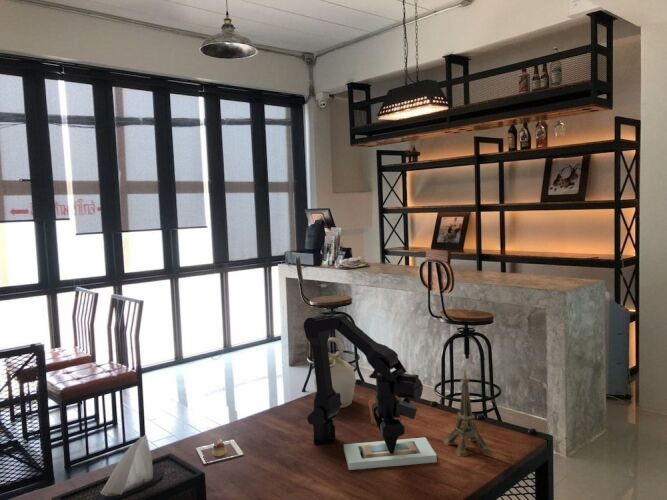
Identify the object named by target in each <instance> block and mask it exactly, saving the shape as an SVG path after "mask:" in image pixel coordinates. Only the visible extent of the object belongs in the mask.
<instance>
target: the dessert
mask: <svg viewBox="0 0 667 500" xmlns="http://www.w3.org/2000/svg"><path fill="white" fill-rule="evenodd" d="M229 444H231V446H232V447H233V449H234V450H235V453H237V454H235V455H232V456H228V457H224V458H220V459H216V460H211V461H207V463H208V464H211V463H215V462H221V461H224V460H228V459H232V458H237V457H240V456H243V455H244V452H243V451H242V449H241V448H240V447H239V445H238V444H237V442H236V441H235V439H230V440H225V441H223V440H222V439H221V438H219V439H218V441H217V442H215V443H213V444H208V445H207V444H206V445H204V446H199V447H196V448H195V450H196V452H197V453H198V456H199V457H200V459H201V462H202V464H204V465H208V464H207V463H206V462H205V460H204V458H203V456H204V454H203V452H202V451H203V450H207V449H212V451H211V455H212V456H214V457H221V456H224V455H226V454H227V453H228V451H227V447H226V445H229Z"/></svg>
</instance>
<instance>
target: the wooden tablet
mask: <svg viewBox="0 0 667 500" xmlns="http://www.w3.org/2000/svg"><path fill="white" fill-rule="evenodd" d="M375 402H377V400H376V397H375V398H370V399H369V401H368V407H369V415H370V422H371V425H372V426H373V427H378V425H377V423H376V420H375V418H374V415H373V412H372V405H373V404H374V403H375ZM394 419H395V420H397V419H399V420H400V421H401V417H400V418H396V417H394Z"/></svg>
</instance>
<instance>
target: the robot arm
mask: <svg viewBox="0 0 667 500" xmlns="http://www.w3.org/2000/svg"><path fill="white" fill-rule="evenodd" d="M331 330H332V331H333V330H336V331H337V332H338V333H340V335H342V336H343V337H344V338H345V339H346V340H347V341H349V342H350V343H351V344H353V346H354V347H356V348H357V349H358V350H359V351H360V352H361V353H362V354H364V356H365V357H366V360H367V363H368V365H370V366H371V368H372V369H373V371H372V373H370V374H369V375H368V376H369V377H368V378H370V379H373V380H375V381H376V382H375V384H376V395H375V398H376V400H377V402H375V403H374V404H373V405H372V412H373V415H374V418H375V420H376V423H377V425H378V426H377V427H378V429H379V431H380V434H381V436H382V439H383V441H385V443H386V446H387V448H388V450H389V453H390V454H393V453H394V450H395V446H396V442H397V440H399V439H398V438H400V437H401V436H403V435H405V434H406V429H405V428H406V427H405V426H404V423H403V422H402V421H401V416H403V417H406V418H409V419H411V420H414V419H415V418H416V414H417V412H418V407H417V406H416V405H415V404H414V403H413V401H419V400H420V399H421V398H422V395H423V390H424V387H423V386H424V385H423V383H422V380H421V379H420V377H419V376H420V375H419V374H410V373H407V370H406V368H405V367H404V365H403V364H402V362H401V360H400V359H399V355H398V353H397V352H396V351H395V350H394V349H392V348H390V347H389V346H387V345H385V344H381V343H378V342H377V341H375V340H374V339H373V338H372V337H371V336H370V335H368V334H367V333H365V332H364V331H363V330H362V329H361V328H360V327H359V326H357V325H356V324H355V323H354V322H352V320H351V319H350V318H349V317H348V316H347V315H346V314H343V313H340V314H332V315H326V314H324V313H319V314H316V315H313V316H309V317H307V318H306V319H305V320H304V322H303V331H304V334H305V337H306V339H307V341H308V342H309V344H310V345H311V350H312V360H313V367H314V375H315V377H316V386H317V392H316V391H315V392H316V393H315V396H314V399H313V411H312V412H311V413H309V415H308V416H307V417H306V419H307V422H308V424H309V425H312V442H313V444H314V445H322V444H333V443H335V439H336V425H335V423H334V420H333V419H335V418H336V417H337V415H338V414H339V412H340V410H341V408H340V406H341V405H342V403H341V400H340V393H336V392H335V391H334V389H333V387H332V379H331V370H330V362H329V353H328V351H329V346H328V345H329V344H328V345H327V342H328V339H329V338H330V336H331ZM393 369H394V370H393ZM391 370H392V371H391ZM398 397H399V398H400V399H399V398H398ZM411 400H413V401H412V402H411ZM394 417H396V418H400V420H399V419H397V420H395V419H394Z"/></svg>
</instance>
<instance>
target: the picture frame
mask: <svg viewBox="0 0 667 500" xmlns="http://www.w3.org/2000/svg"><path fill="white" fill-rule="evenodd" d="M361 453H362V455H361V456H362V459H363V458H374V457H385V456H396V455H408V454H417V450H416V448H415V446H414V444H413V443H412V441H407V442H396V446H395V450H394V453H393V454H390V453H389V450H388V448H387V446H386V443H385V444H374V445H363V446H362V452H361Z"/></svg>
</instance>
